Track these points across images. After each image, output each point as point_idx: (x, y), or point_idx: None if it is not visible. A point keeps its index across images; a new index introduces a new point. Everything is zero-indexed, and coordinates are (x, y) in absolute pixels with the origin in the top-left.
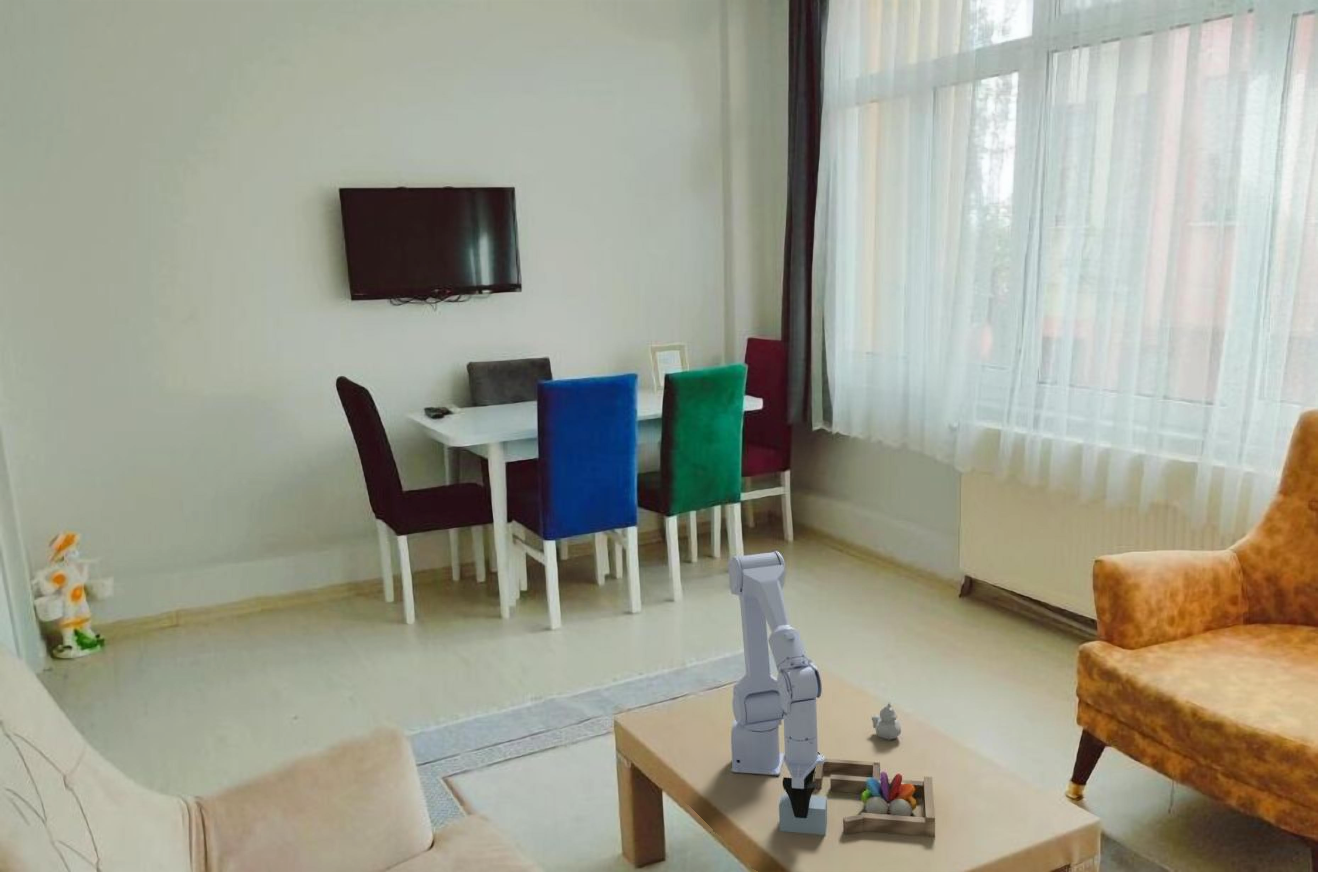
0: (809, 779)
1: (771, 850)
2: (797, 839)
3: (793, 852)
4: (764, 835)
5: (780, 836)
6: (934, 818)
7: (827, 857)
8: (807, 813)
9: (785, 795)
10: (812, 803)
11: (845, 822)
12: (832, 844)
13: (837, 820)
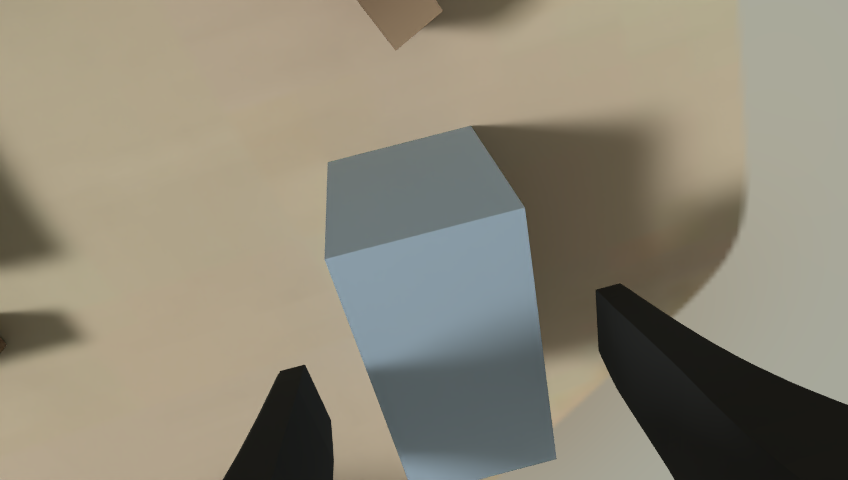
0: (287, 476)
1: (669, 313)
2: (557, 248)
3: (672, 226)
4: (561, 376)
5: (551, 321)
6: None
7: (699, 40)
8: (644, 301)
9: (430, 474)
10: (469, 317)
11: (436, 13)
12: (559, 53)
13: (277, 107)
